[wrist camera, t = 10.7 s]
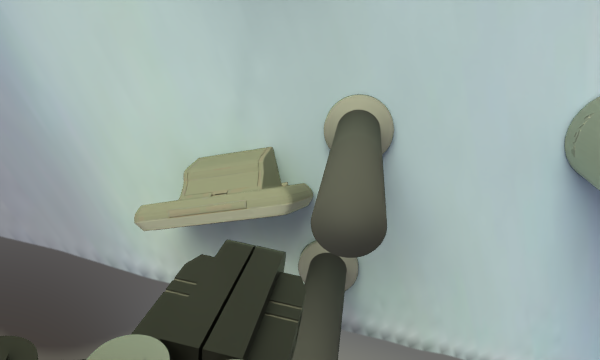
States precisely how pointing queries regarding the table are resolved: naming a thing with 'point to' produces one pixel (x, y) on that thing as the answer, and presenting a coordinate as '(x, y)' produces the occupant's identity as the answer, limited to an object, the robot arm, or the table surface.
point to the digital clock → (227, 192)
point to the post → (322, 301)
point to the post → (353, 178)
